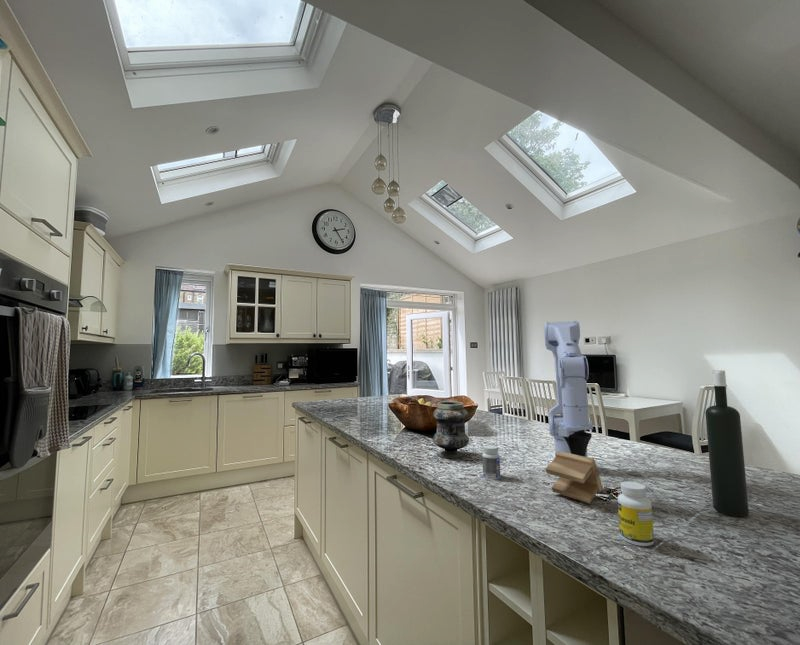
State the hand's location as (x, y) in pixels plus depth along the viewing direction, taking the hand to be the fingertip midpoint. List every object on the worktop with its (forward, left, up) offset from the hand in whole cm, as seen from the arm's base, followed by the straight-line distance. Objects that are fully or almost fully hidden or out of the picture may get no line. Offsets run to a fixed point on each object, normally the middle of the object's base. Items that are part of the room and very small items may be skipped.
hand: (578, 463), depth 89 cm
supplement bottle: (+11, +17, -8) cm, 22 cm away
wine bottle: (-18, +24, -8) cm, 31 cm away
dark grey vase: (0, -44, -8) cm, 45 cm away
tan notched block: (+3, 0, -8) cm, 9 cm away
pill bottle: (+5, -22, -8) cm, 24 cm away
